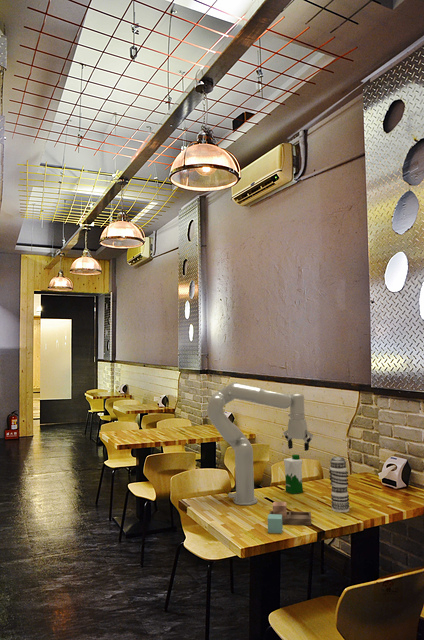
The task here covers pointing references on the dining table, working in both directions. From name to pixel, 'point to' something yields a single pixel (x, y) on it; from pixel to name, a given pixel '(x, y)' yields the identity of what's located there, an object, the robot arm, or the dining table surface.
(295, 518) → the walnut tray
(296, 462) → the milk carton
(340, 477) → the decorative candle
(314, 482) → the dining table surface
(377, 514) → the dining table surface
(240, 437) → the robot arm
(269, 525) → the teal cube
